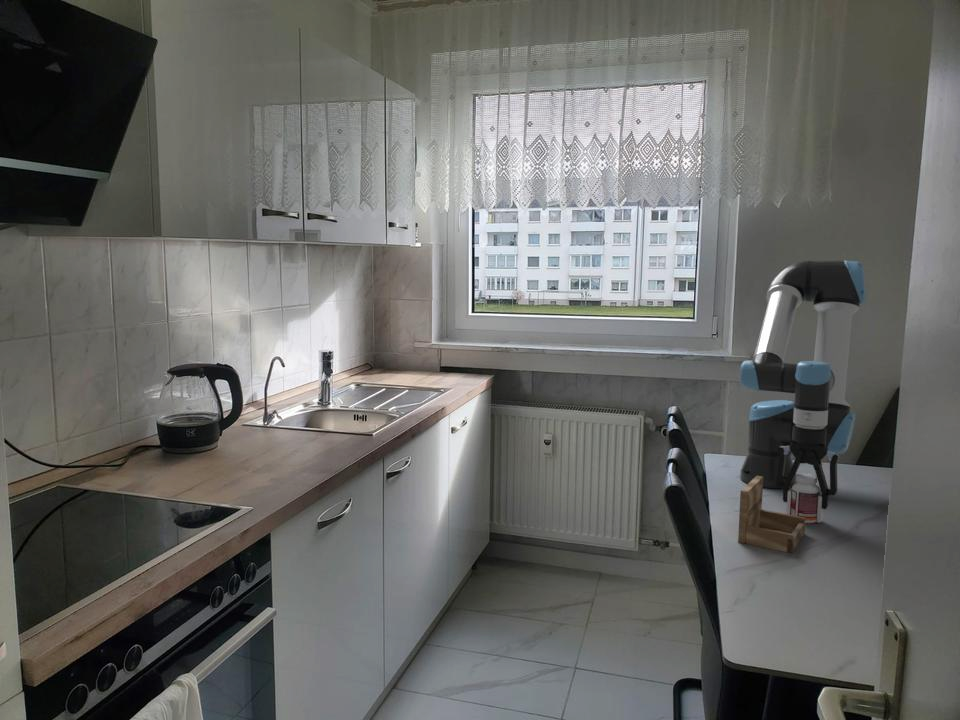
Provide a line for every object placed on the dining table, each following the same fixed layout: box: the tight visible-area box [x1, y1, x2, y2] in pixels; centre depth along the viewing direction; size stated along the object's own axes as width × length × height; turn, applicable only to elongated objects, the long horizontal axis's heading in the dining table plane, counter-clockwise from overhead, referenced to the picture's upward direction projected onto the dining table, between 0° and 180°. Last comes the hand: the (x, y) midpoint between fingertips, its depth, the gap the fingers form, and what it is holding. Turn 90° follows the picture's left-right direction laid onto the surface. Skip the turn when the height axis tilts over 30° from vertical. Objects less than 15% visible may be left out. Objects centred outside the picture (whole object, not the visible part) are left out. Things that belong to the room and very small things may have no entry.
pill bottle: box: [791, 472, 821, 524], centre depth 176 cm, size 6×6×11 cm
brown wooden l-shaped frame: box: [737, 476, 806, 554], centre depth 164 cm, size 14×11×12 cm
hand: (804, 517), depth 176 cm, fingers closed on pill bottle, 6 cm apart
